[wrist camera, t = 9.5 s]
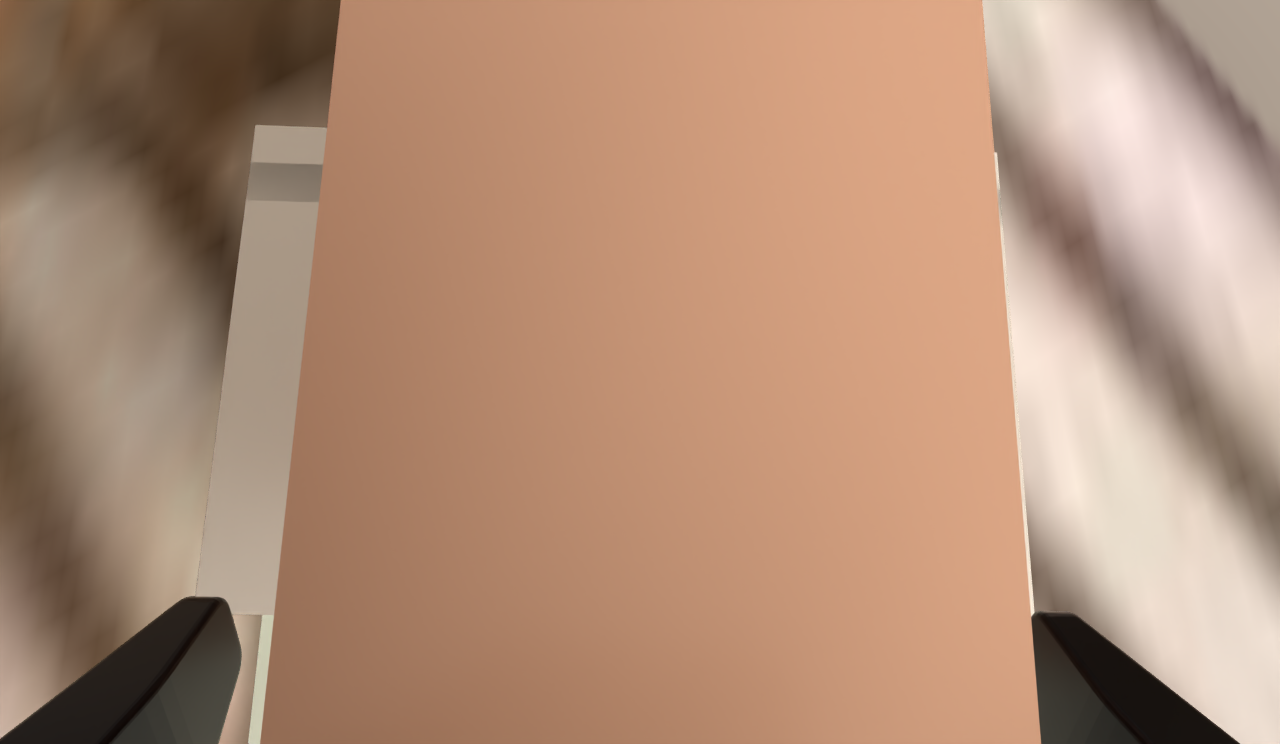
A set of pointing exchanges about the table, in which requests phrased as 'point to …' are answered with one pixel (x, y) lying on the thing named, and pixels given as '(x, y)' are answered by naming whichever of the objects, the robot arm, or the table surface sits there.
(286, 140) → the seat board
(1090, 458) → the table surface
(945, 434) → the tall peach block
